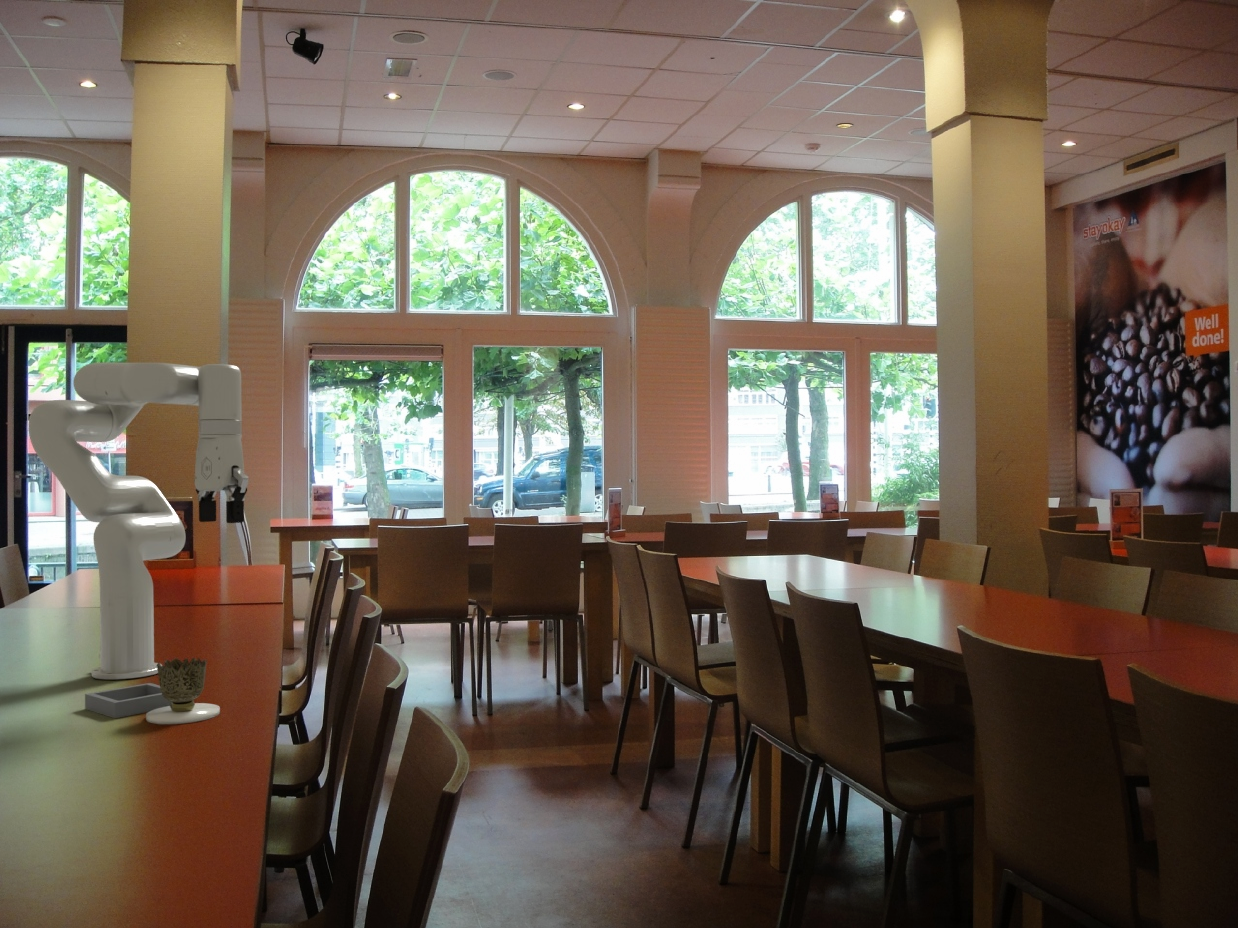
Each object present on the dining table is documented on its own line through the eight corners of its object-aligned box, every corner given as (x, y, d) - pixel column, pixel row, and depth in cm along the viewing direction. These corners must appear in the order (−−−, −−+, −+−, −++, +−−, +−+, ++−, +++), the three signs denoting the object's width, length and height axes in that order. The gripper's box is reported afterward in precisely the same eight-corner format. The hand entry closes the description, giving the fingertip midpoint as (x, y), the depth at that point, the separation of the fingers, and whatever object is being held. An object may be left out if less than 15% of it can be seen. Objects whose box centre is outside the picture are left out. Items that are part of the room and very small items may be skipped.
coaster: (133, 717, 164) (133, 712, 164) (198, 704, 173) (198, 700, 173) (167, 727, 157) (167, 722, 157) (232, 714, 166) (232, 709, 166)
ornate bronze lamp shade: (188, 716, 161) (188, 666, 161) (147, 715, 162) (146, 665, 162) (216, 705, 168) (215, 657, 168) (176, 704, 170) (176, 656, 170)
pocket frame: (85, 708, 171) (85, 693, 171) (149, 697, 179) (149, 682, 179) (115, 718, 164) (115, 702, 164) (181, 705, 173) (180, 690, 173)
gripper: (177, 431, 193) (178, 522, 192) (226, 428, 182) (227, 524, 181) (215, 432, 198) (215, 520, 198) (264, 429, 187) (265, 522, 187)
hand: (221, 522), depth 190 cm, fingers open, 9 cm apart
